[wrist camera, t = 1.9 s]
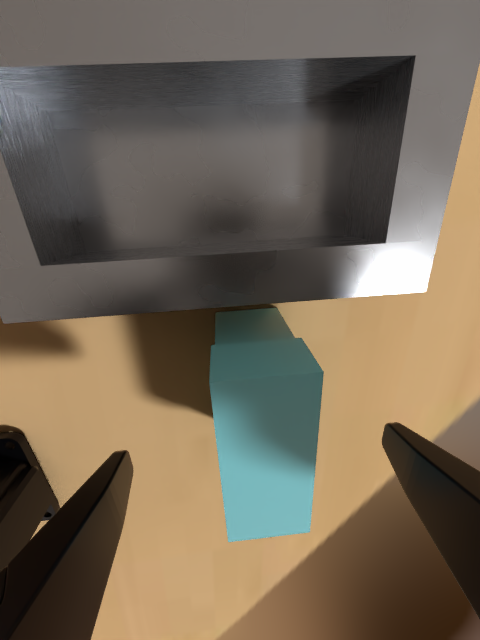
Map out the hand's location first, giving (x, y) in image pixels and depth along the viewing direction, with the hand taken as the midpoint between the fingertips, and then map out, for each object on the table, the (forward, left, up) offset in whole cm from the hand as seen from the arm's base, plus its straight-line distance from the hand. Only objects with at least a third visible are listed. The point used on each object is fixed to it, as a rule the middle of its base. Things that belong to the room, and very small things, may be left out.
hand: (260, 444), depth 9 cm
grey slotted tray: (-1, +9, -4) cm, 10 cm away
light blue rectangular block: (0, 0, -4) cm, 5 cm away
